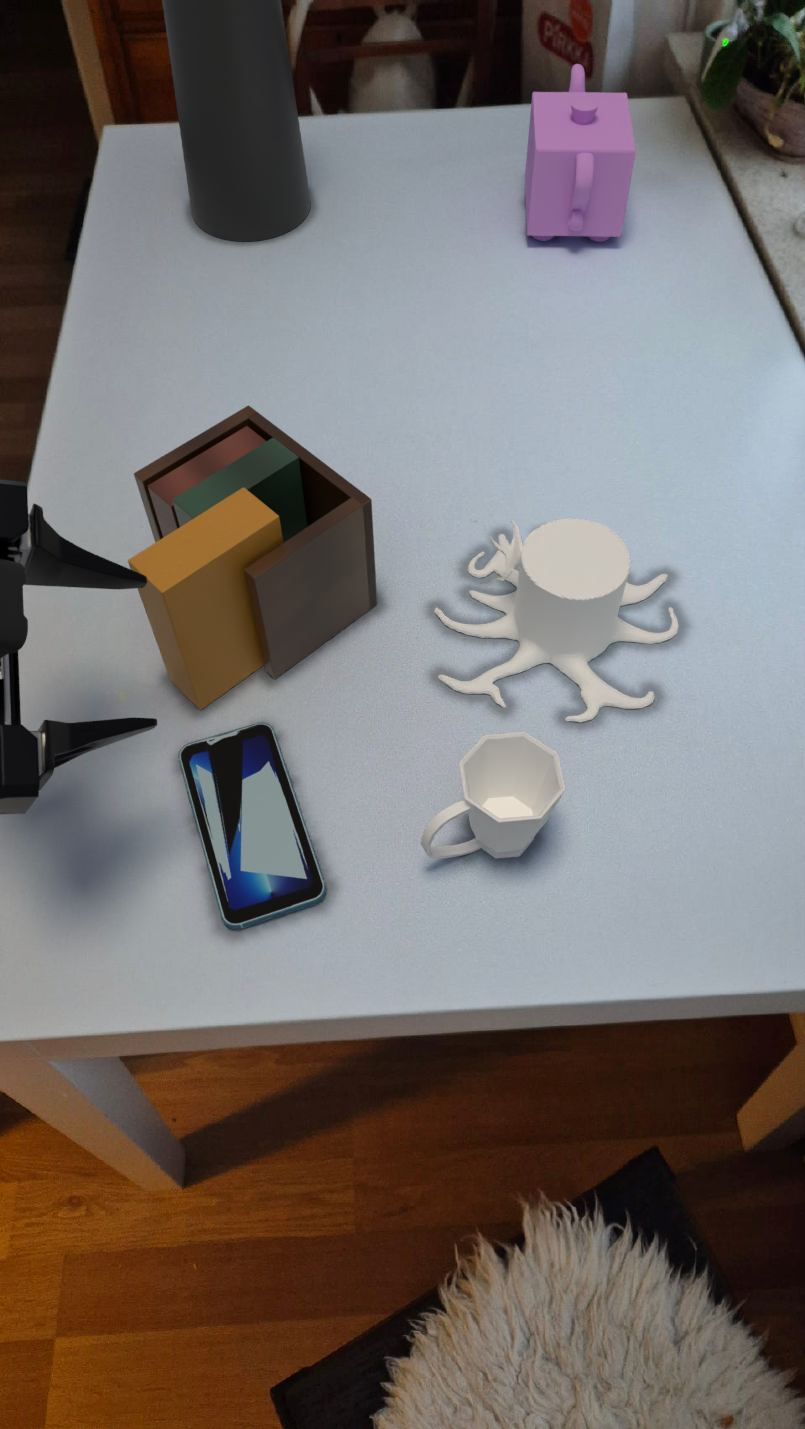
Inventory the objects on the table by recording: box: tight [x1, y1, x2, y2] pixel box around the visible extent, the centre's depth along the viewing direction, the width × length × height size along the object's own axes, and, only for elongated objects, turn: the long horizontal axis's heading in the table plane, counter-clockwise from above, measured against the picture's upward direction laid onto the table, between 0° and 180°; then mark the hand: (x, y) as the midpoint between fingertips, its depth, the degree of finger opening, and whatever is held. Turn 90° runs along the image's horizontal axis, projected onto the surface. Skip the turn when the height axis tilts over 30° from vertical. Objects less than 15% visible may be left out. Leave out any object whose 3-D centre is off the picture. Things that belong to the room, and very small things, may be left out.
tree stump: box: [433, 517, 680, 723], centre depth 78 cm, size 20×19×8 cm
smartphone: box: [177, 722, 327, 930], centre depth 72 cm, size 7×1×15 cm
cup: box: [420, 731, 566, 860], centre depth 68 cm, size 7×10×8 cm
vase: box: [161, 0, 311, 242], centre depth 104 cm, size 14×14×29 cm
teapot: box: [524, 63, 637, 243], centre depth 109 cm, size 20×10×12 cm, turn 177°
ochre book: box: [127, 487, 283, 711], centre depth 75 cm, size 10×4×14 cm, turn 133°
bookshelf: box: [133, 405, 378, 680], centre depth 79 cm, size 11×14×13 cm
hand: (150, 651), depth 62 cm, fingers open, 9 cm apart
